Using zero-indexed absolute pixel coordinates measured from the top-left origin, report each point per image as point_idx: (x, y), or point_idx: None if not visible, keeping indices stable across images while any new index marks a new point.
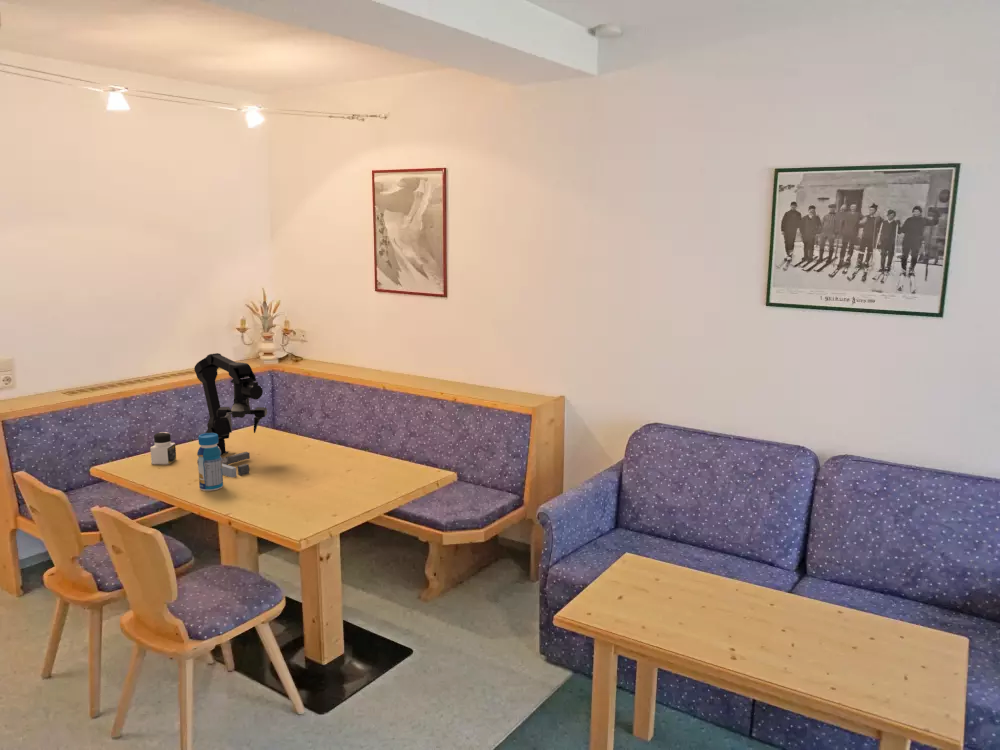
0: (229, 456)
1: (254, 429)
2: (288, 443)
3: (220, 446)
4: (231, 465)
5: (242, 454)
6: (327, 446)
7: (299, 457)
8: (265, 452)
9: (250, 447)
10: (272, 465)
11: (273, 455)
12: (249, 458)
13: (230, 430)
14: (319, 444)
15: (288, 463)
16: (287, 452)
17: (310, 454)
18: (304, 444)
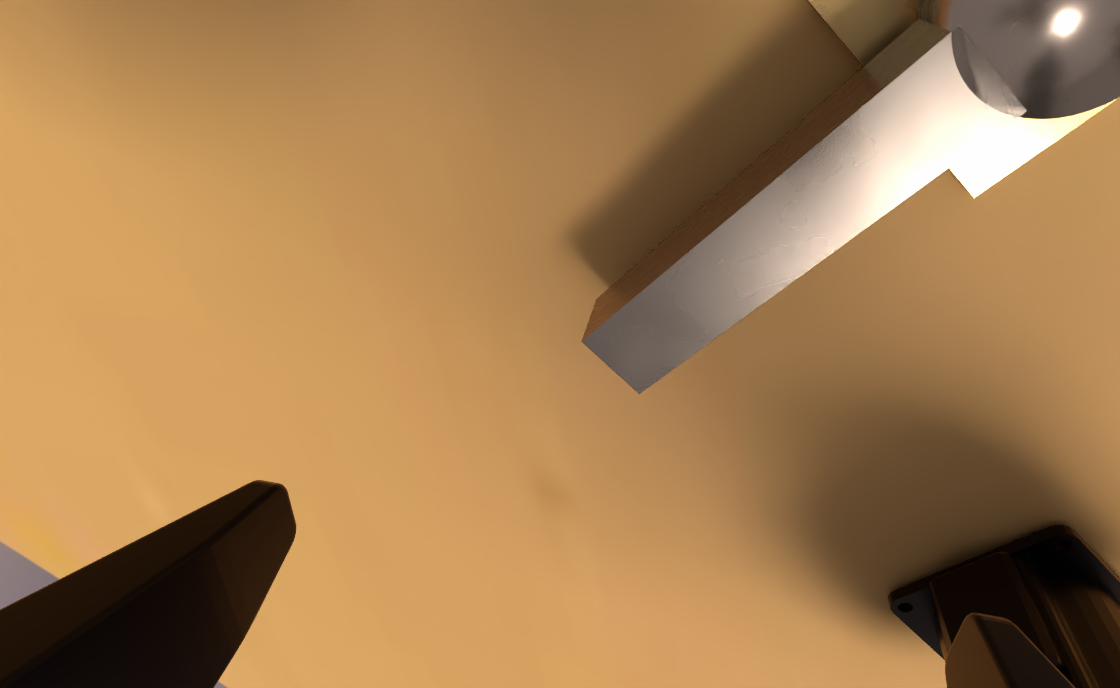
0: (904, 169)
1: (174, 542)
2: (377, 685)
3: (1031, 640)
4: (848, 37)
5: (675, 263)
6: (56, 554)
7: (107, 316)
8: (497, 531)
9: (671, 684)
10: (254, 31)
11: (388, 429)
12: (600, 296)
13: (1032, 683)
14: None
15: (103, 104)
16: (291, 486)
17: (62, 389)
18: (247, 636)
